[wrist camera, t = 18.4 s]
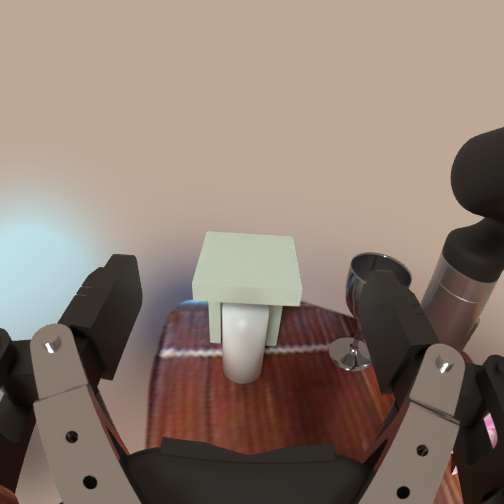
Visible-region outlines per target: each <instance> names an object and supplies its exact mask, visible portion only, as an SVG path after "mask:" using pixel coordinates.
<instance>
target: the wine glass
mask: <svg viewBox="0 0 504 504" xmlns="http://www.w3.org/2000/svg"><path fill="white" fill-rule="evenodd" d="M371 270H391V271H393V272H394V274H395V275H396V277H397V279H398V281H399V282H400V284H401V285H405V286H406V287H407V288H408V289H409V286H410V284H411V280H412V276H411V273H410V271H409V270H408V269H407V267H406V266H405V265H404V264H402V263H401V262H400V261H398V260H396V259H394V258H392V257H390V256H387V255H384V254H379V253H372V252H371V253H370V252H367V253H361V254H358V255H356V256H355V257H354V258H353V259H352V261H351V264H350V268H349V272H348V277H347V283H346V302H347V306H348V308H349V310H350V312H351V313H352V315H353V316H354V317H355V319H356V321H357V331H356V335H355V337H354V336H341V337H338V338H336V339H334V340H333V341H332V342H331V344H330V346H329V350H328V351H329V356H330V358H331V360H332V361H333V362H334V363H335V364H336V365H337V366H339V367H340V368H342V369H345V370H348V371H362V370H365V369H367V368H368V367H369V366H370V365H371V364H372V361H371V358H370V354H369V351H368V348H367V345H366V342H365V341H363V340H362V339H360V338H361V336H362V335H363V333H362V329H361V326H360V323H359V320H358V307H359V303H360V300H361V297H362V294H363V290H364V287H365V284H366V281H367V278H368V275H369V272H370V271H371Z"/></svg>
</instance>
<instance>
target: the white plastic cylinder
mask: <svg viewBox="0 0 504 504" xmlns="http://www.w3.org/2000/svg"><path fill="white" fill-rule="evenodd" d="M268 317H269V306H268V305H261V304H243V303H226V302H224V304H223V307H222V335H223V372H224V374H225V376H226V377H227V378H228V379H229V380H231V381H233V382H235V383H240V384H246V383H250V382H253V381H255V380H256V379H257V378H258V377H259V376H260V374H261V370H262V363H263V356H264V348H265V341H266V333H267V325H268Z"/></svg>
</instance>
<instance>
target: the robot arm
mask: <svg viewBox="0 0 504 504" xmlns="http://www.w3.org/2000/svg"><path fill="white" fill-rule="evenodd" d="M451 186H452V190H453V193H454V196H455V197H456V200H457V201H458V202H459V204H460V205H461V206H462V207H463V208H465V209H466V210H468V211H470V212H471V213H473V214H476V215H480V216H483V217H485V218H484V219H483V220H482V221H480V222H478V223H476V224H474V225H471V226H468V227H463V228H458V229H455V230H453V231H451V232H450V233H449V235H448V236H447V239H446V241H445V244H444V247H443V249H442V252H441V255H440V257H439V260H438V263H437V265H436V268H435V271H434V273H433V276H432V278H431V280H430V283H429V285H428V288H427V290H426V292H425V295H424V297H423V299H422V301H421V304H420V303H419V302H418V300H417V298H416V296H415V294H414V293H412V292H411V291H410V290H409V289H408V288H407V287H406V286H405V285H401V284H400V282H399V281H398V279H397V277H396V275H395V274H394V272H393V271H391V270H371V271H370V272H369V275H368V278H367V281H366V284H365V287H364V290H363V294H362V297H361V300H360V303H359V307H358V320H359V323H360V326H361V329H362V333H363V336H364V339H365V342H366V345H367V348H368V351H369V354H370V358H371V361H372V364H373V368H374V371H375V374H376V378H377V381H378V385H379V388H380V392H381V395H383V394H393V393H394V396H395V400H394V401H393V403H392V405H391V407H390V409H389V411H388V413H387V415H386V417H385V419H384V421H383V423H382V424H381V426H380V428H379V430H378V432H377V434H376V436H375V437H374V439H373V441H372V443H371V445H370V446H369V448H368V449H367V451H366V452H365V453H364V455H363V456H362V457H361V459H360V460H359V461H357V460H354V459H352V458H349V457H346V456H342V455H338V454H335V451H334V444H323V445H303V446H290V447H286V448H282V449H277V450H273V451H268V452H263V453H259V454H253V455H245V454H241V453H238V452H234V451H231V450H227V449H224V448H221V447H217V446H214V445H211V444H208V443H205V442H197V441H188V440H180V439H173V438H166V437H163V439H162V444H161V447H155V448H149V449H145V450H141V451H138V452H135V453H133V454H129V452H128V450H127V448H126V447H125V445H124V443H123V442H122V440H121V438H120V436H119V434H118V432H117V430H116V428H115V426H114V424H113V422H112V419H111V417H110V415H109V412H108V410H107V408H106V405H105V403H104V401H103V398H102V396H101V393H100V391H99V389H98V387H97V386H98V384H99V381H100V379H101V378H102V379H107V380H113V378H114V375H115V372H116V369H117V367H118V364H119V361H120V359H121V356H122V354H123V351H124V348H125V346H126V343H127V341H128V338H129V336H130V333H131V331H132V328H133V326H134V323H135V321H136V318H137V316H138V314H139V311H140V309H141V305H142V288H141V282H140V277H139V271H138V265H137V260H136V257H135V256H134V255H123V254H113V255H112V256H111V258H110V259H109V261H108V262H107V264H106V265H105V267H99V268H98V269H96V270H95V271H94V272H92V273H91V274H90V275H89V276H88V277H87V278H86V280H85V281H84V283H83V284H82V287H80V289H79V290H78V292H77V295H75V296H74V298H73V299H72V301H71V302H70V304H69V306H68V307H67V309H66V310H65V312H64V313H63V315H62V317H61V319H60V320H59V321H58V323H57V324H50V325H47V326H44V327H43V328H41V329H39V330H38V331H37V332H36V333H35V334H34V336H33V337H32V339H31V340H19V341H12V340H11V338H10V336H9V335H8V333H7V332H6V330H4V329H1V328H0V389H1V390H2V391H3V393H4V395H3V397H2V400H1V402H0V504H19V502H18V500H17V498H16V496H15V491H16V487H17V483H18V479H19V475H20V471H21V468H22V464H23V461H24V457H25V454H26V451H27V447H28V444H29V441H30V438H31V435H32V432H33V429H34V426H35V423H36V421H37V425H38V429H39V433H40V436H41V440H42V443H43V447H44V450H45V454H46V456H47V460H48V463H49V466H50V469H51V472H52V475H53V478H54V481H55V483H56V486H57V489H58V491H59V493H60V496H61V499H62V502H61V503H60V504H432V503H433V500H434V498H435V496H436V493H437V491H438V489H439V486H440V484H441V481H442V478H443V476H444V473H445V470H446V468H447V465H448V462H449V459H450V456H451V453H452V451H453V455H454V459H455V464H456V468H457V472H458V477H459V482H460V487H461V492H462V497H463V503H464V504H504V357H502V356H499V355H491V356H489V357H488V358H487V360H486V361H485V362H484V364H483V365H482V366H480V365H475V364H470V363H465V362H464V360H463V358H462V356H461V355H460V353H461V352H462V350H463V349H464V347H465V345H466V344H467V342H468V341H469V339H470V338H471V336H472V334H473V333H474V331H475V329H476V328H477V326H478V324H479V322H480V319H479V316H480V314H481V312H482V310H483V308H484V307H485V305H486V303H487V301H488V299H489V297H490V295H491V293H492V291H493V289H494V287H495V285H496V283H497V281H498V279H499V277H500V275H501V273H502V271H503V270H504V127H503V128H499V129H496V130H493V131H490V132H487V133H483V134H480V135H478V136H475V137H473V138H471V139H470V140H468V141H467V142H466V143H465V144H464V145H463V146H462V148H461V149H460V150H459V152H458V154H457V155H456V158H455V160H454V163H453V166H452V170H451ZM489 413H490V415H491V418H492V420H493V423H494V426H495V429H496V432H497V443H496V445H495V447H494V448H493V447H492V443H491V440H490V437H489V434H488V431H487V428H486V425H485V422H484V418H485V417H486V416H487V415H488V414H489Z"/></svg>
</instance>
